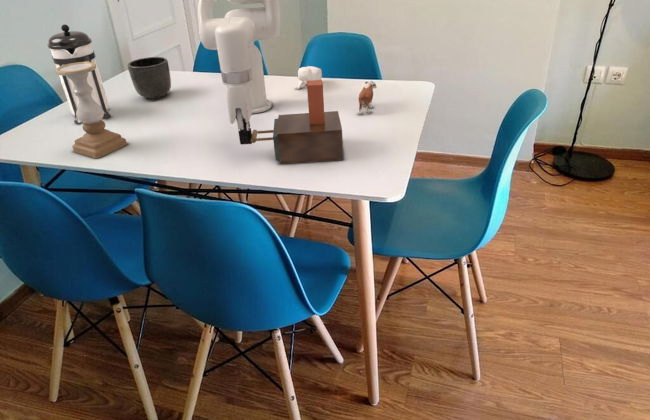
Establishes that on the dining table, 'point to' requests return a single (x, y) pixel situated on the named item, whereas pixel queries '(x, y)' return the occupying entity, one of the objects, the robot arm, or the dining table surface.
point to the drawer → (274, 138)
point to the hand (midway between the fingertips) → (246, 142)
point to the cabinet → (309, 138)
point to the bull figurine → (366, 96)
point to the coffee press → (76, 50)
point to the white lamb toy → (308, 75)
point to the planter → (150, 77)
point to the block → (315, 102)
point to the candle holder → (90, 114)
